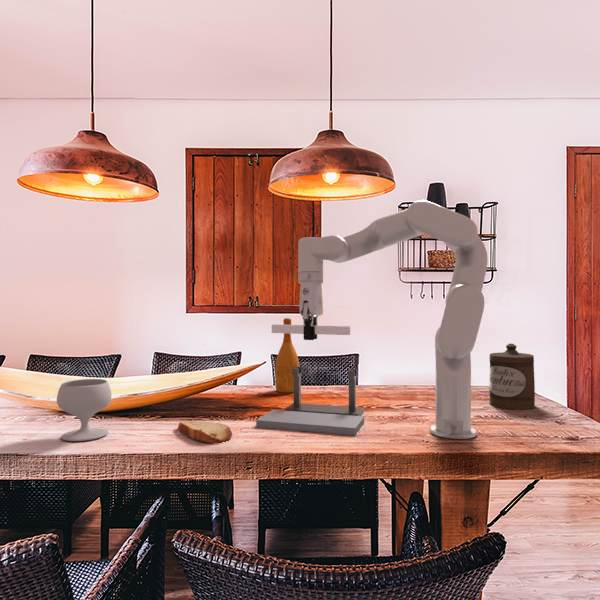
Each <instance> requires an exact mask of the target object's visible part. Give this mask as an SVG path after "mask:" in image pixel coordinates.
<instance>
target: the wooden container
mask: <svg viewBox="0 0 600 600" xmlns="http://www.w3.org/2000/svg"><path fill="white" fill-rule="evenodd" d="M505 348H506V350H505V351H504V352H490V353H489V381H488V382H489V383H488V385H489V388H488V389H489V404H490V405H491V406H493V407H496V408H500V409H504V408H506V409H507V410H515V409H518V410H520V409H525V410H530V409H531V408H532V409H534V408H536V407H535V406H536V403H535V402H536V400H535V399H536V397H535V396H536V391H535V390H536V386H535V383H536V381H535V365H534V364H535V358H534V357H535V355H534V354H531V353H524V352H518V350H517V345H516V344H514V343H508V344H506V346H505ZM532 409H531V410H532Z"/></svg>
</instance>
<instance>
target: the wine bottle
mask: <svg viewBox="0 0 600 600" xmlns="http://www.w3.org/2000/svg"><path fill="white" fill-rule="evenodd" d="M283 325H292V319H291V318H288V317H287V318H286V317H285V318H284V319H283ZM282 339H283V340H282V343H281V346H280V348H279V350H278V354H277V356H276V360H275V370H274V372H275V374H274V375H275V390H276V391H277V392H279V393H281V394H282V393H286V394H289V393H290V394H291V393H292V392H293V393H294V377H293V376H292V368H296V367H300V362H299V357H298V354H297V351H296V349H295V347H294V343H293V341H292V334H290V333H283V338H282ZM293 393H292V394H293Z"/></svg>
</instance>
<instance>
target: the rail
mask: <svg viewBox="0 0 600 600" xmlns="http://www.w3.org/2000/svg"><path fill="white" fill-rule="evenodd" d="M313 327H314V334H317V335H329V336H332V335H333V336H349V335H351V325H324V324H322V325H318V324H317V325H313ZM284 333H290V334H291V335H292V334H293V335H294V334H295V335H296V334H297V335H304V326H303V324H291V325H284V324H271V334H284Z"/></svg>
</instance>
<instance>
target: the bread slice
mask: <svg viewBox="0 0 600 600" xmlns="http://www.w3.org/2000/svg"><path fill="white" fill-rule="evenodd" d="M178 430H179V431H178ZM177 431H178V432H179V433H181V434H182V435H184V436H185V437H186V438H190V439H192V440H193V439H194V440H193V441H197V440H198V441H197V442H201V441H202V443H204V442H205V444H209V443H222V442H225V443H227V442H226V441H228V442H229V440H230V441H231V438H232V436H233V432H232V430H231V428H230V427H229V426H228V425H227V424H225V423H224V424H223V423H219V422H211V421H198V420H197V421H196V420H188V421H187V420H183V421H179V423H178V426H177ZM222 444H223V443H222Z"/></svg>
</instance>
